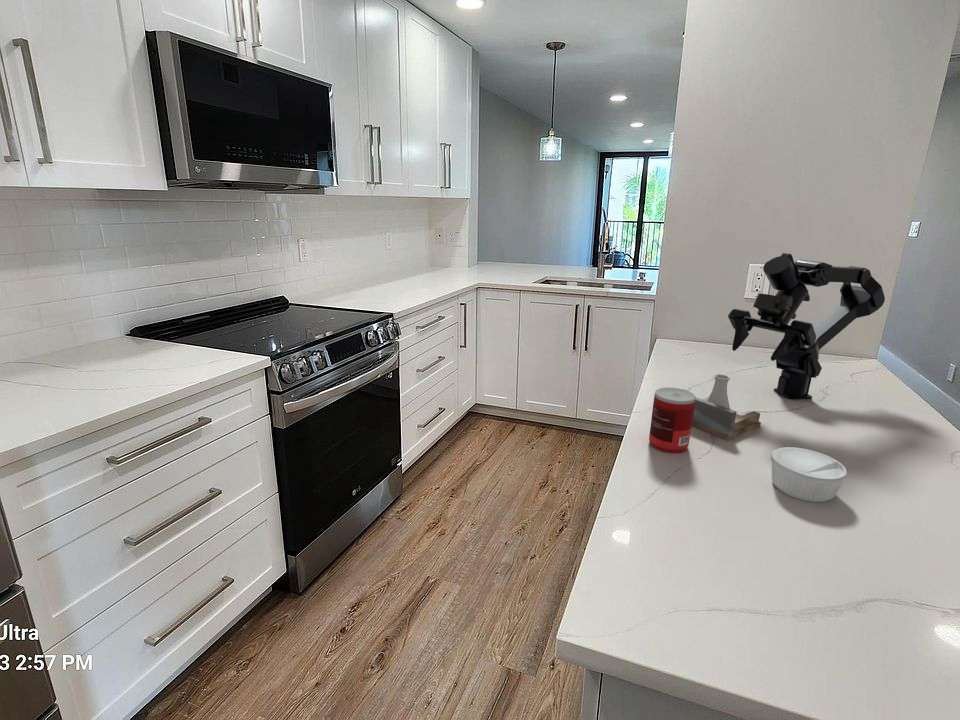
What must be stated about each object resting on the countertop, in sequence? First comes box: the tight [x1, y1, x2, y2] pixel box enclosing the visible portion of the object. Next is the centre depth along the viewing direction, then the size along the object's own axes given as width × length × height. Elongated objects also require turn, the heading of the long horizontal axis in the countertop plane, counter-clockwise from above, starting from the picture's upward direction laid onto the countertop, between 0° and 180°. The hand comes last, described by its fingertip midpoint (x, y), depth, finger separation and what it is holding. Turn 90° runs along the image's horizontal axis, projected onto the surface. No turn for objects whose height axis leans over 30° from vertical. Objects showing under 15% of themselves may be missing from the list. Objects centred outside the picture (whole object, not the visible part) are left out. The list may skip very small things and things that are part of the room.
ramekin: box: [770, 446, 848, 503], centre depth 92 cm, size 11×11×5 cm
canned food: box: [648, 387, 696, 454], centre depth 106 cm, size 8×8×11 cm
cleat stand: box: [691, 397, 762, 441], centre depth 118 cm, size 13×13×6 cm
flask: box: [707, 373, 731, 409], centre depth 117 cm, size 7×7×10 cm
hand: (751, 354), depth 123 cm, fingers open, 9 cm apart
